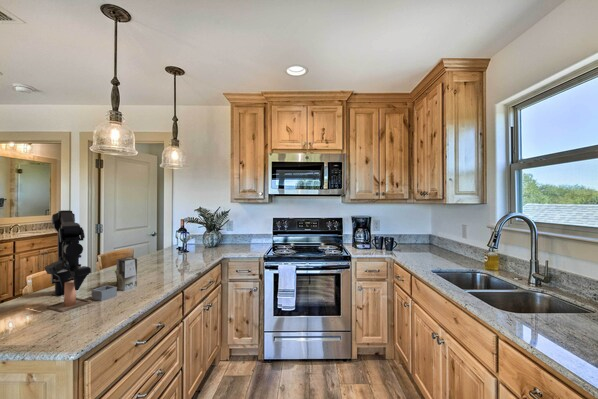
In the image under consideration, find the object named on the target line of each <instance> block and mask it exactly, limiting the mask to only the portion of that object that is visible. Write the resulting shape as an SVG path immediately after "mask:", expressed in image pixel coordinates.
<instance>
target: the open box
mask: <svg viewBox="0 0 598 399" xmlns="http://www.w3.org/2000/svg"><path fill="white" fill-rule="evenodd" d="M117 292H118V288H117V286H113V285H103V286H99V287H97V288H94V289H91V300H92V301H93V300H94V301H99V302H103V301H106V300H110V299H112V298H115V297H117V296H118V293H117Z"/></svg>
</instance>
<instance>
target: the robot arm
mask: <svg viewBox="0 0 598 399" xmlns="http://www.w3.org/2000/svg"><path fill="white" fill-rule="evenodd" d="M75 216H76V215H75V213H74V212H73V210H70V209H67V210H66V209H65V210H64V209H63V210H61V209H60V210H58V212H56V213H53V214H52V216H51V225H53V226H52V227H53V229H54V231H56V232H57V261H54V262H52V263H50V264H49V265H46V266H44V270H45V272H46V274H47V275H50V282H51V285H53V284H54V292H52V293H51V295H52V296H56V297H61V296H64V288H65V282H68V281H74V287H75V290H76V291H79V289H80V288H81V286H82V284H83V282H84V281H85V280H86V278H87V276H88V275H90V274H92V268H91V267H89V266H85V265H84V266H83V265H82V263H80V258H82V253H83V252H84V246H82V244H80V241H82V242H83V241H84V239H85V235H86V234H85V231H84V229H83V226H82V227H81V225H80V223H78V222H76V217H75Z"/></svg>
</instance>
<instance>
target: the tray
mask: <svg viewBox="0 0 598 399" xmlns="http://www.w3.org/2000/svg"><path fill="white" fill-rule="evenodd" d="M92 303H93V300H90V299H85V298H79V297H76V304H75V305H73V306H68V307H65V306H64V301H61V302H57V303H54V304H50V305H48V306H46V310H47V309H49V310H52V311H56V312H59V313H65V312H68V311H71V310H74V309H77V308H82V307H84V306H87V305H90V304H92Z"/></svg>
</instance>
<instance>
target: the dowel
mask: <svg viewBox="0 0 598 399" xmlns="http://www.w3.org/2000/svg"><path fill="white" fill-rule="evenodd" d="M63 297H64V298H63V299H64V300H63V302H64V306H65V307H68V306H73V305H75V304H76V298H77V290H75V287H74V280H72V281H68V282H65V288H64V295H63Z"/></svg>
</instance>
